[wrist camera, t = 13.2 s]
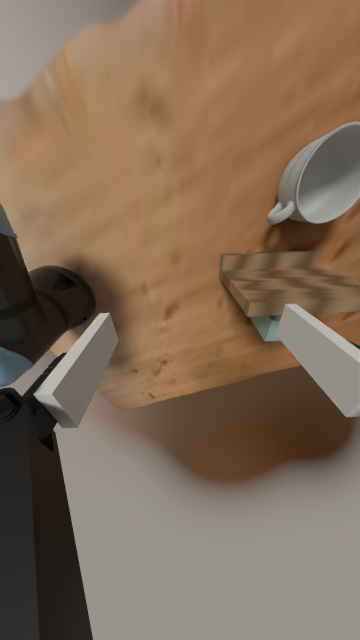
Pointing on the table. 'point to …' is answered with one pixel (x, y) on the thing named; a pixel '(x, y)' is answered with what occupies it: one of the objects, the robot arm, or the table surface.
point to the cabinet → (267, 326)
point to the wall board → (286, 283)
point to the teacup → (321, 179)
